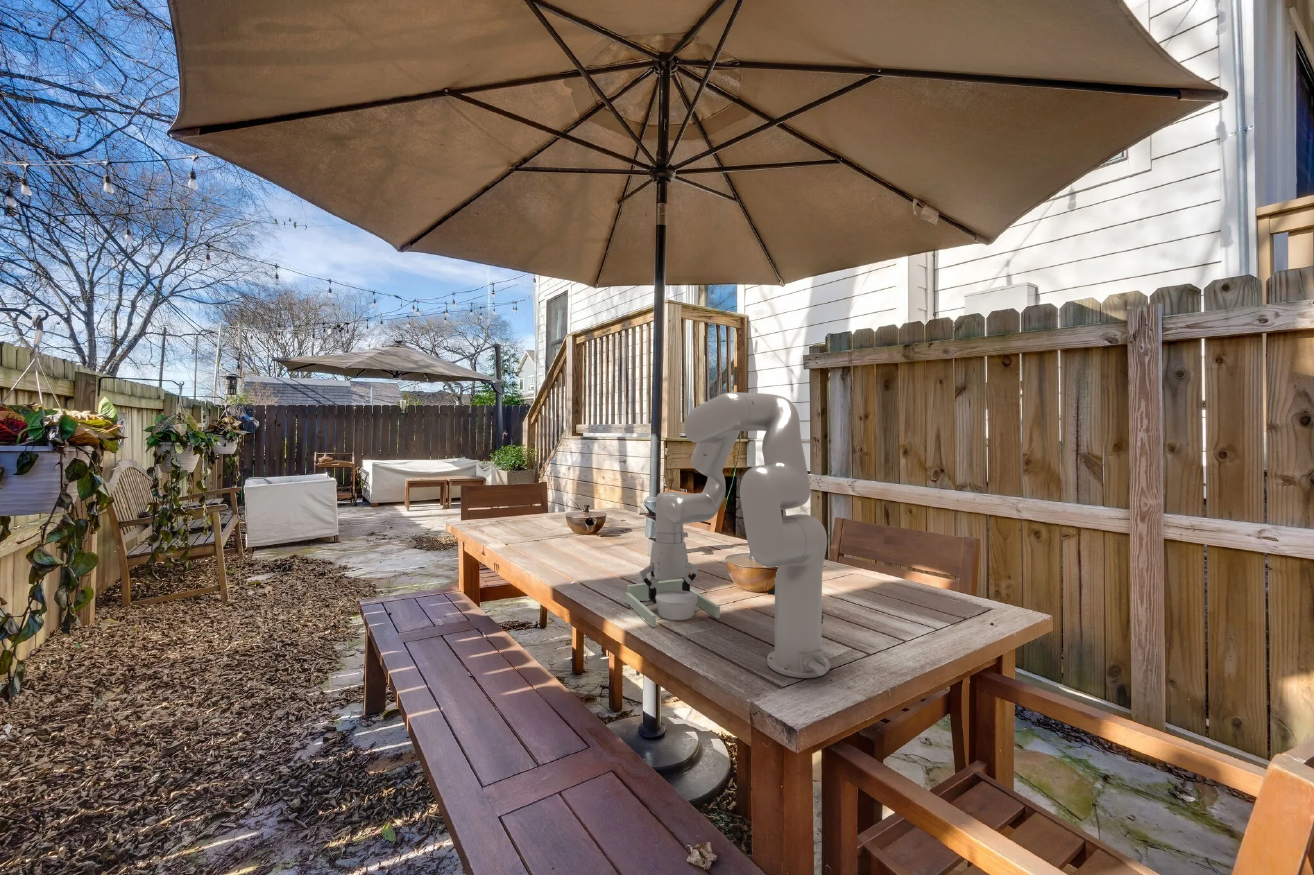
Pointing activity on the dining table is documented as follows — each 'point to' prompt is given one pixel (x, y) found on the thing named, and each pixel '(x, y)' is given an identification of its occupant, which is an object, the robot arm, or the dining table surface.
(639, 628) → the dining table surface
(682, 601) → the ramekin
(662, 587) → the green three-sided fence
